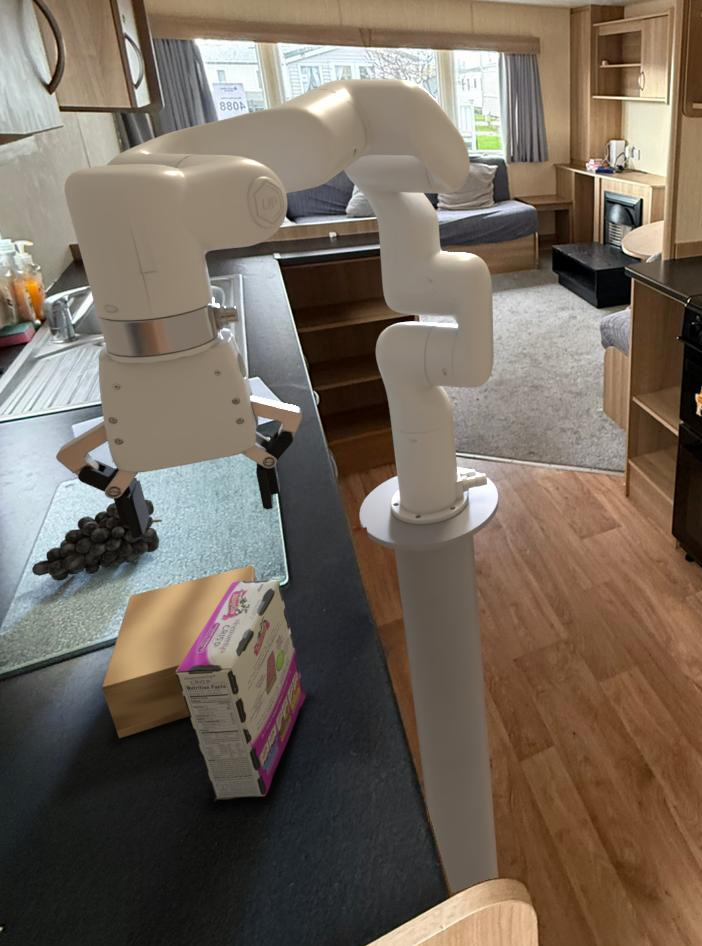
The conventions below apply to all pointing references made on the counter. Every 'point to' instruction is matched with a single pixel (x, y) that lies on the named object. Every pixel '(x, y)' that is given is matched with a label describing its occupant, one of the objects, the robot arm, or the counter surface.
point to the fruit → (97, 545)
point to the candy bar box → (243, 688)
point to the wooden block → (160, 649)
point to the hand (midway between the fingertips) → (207, 514)
